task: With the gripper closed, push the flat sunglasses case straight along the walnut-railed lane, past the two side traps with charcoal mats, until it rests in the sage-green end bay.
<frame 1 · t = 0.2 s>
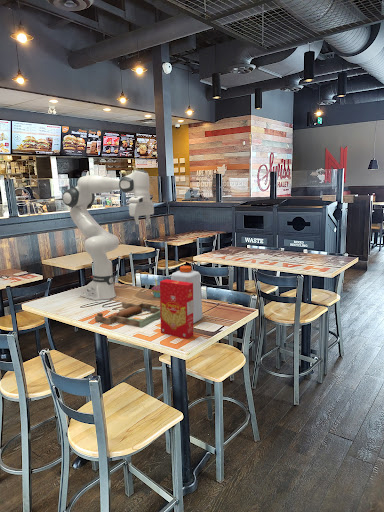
hand: (142, 223, 220), 47 cm above the table, tool pointing down, fingers open, 8 cm apart
plastic bottle: (185, 319, 200), on the table
food packaging: (176, 334, 180), on the table
cupcake: (158, 296, 243), on the table
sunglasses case: (125, 316, 207), on the table
trap lane: (131, 316, 205), on the table
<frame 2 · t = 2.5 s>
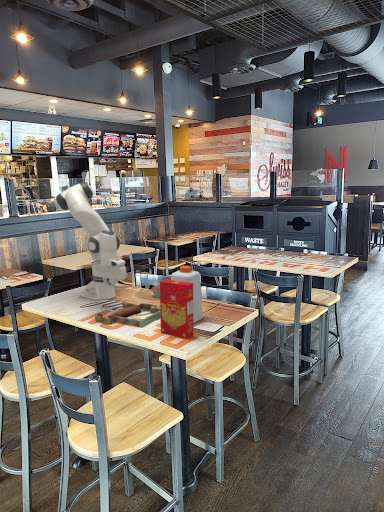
hand: (110, 286, 208), 15 cm above the table, tool pointing down, fingers open, 3 cm apart
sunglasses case: (123, 316, 208), on the table
everything else where it was.
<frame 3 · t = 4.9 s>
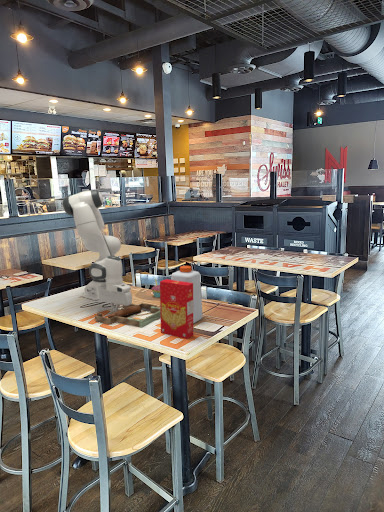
hand: (115, 311, 209), 2 cm above the table, tool pointing down, fingers closed
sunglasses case: (123, 316, 208), on the table, touching gripper
everything else where it was.
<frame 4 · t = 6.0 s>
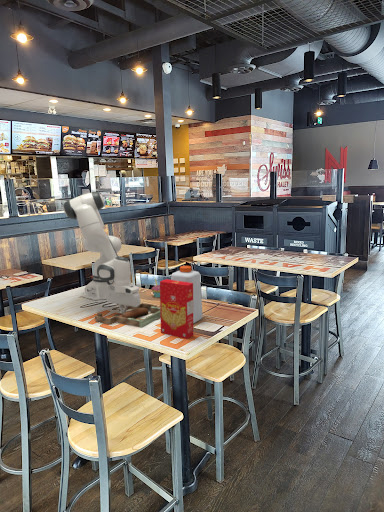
hand: (123, 312, 207), 2 cm above the table, tool pointing down, fingers closed
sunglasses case: (130, 318, 205), on the table, touching gripper, trap lane
everything else where it was.
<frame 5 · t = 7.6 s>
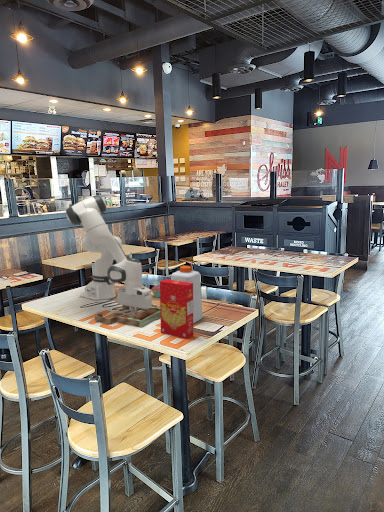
hand: (134, 314, 203), 2 cm above the table, tool pointing down, fingers closed
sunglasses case: (141, 320, 201), on the table, touching gripper, trap lane
everything else where it was.
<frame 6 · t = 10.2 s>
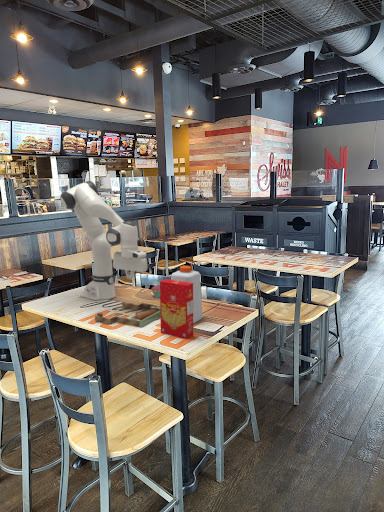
hand: (130, 278, 205), 20 cm above the table, tool pointing down, fingers closed
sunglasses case: (142, 320, 201), on the table
everything else where it was.
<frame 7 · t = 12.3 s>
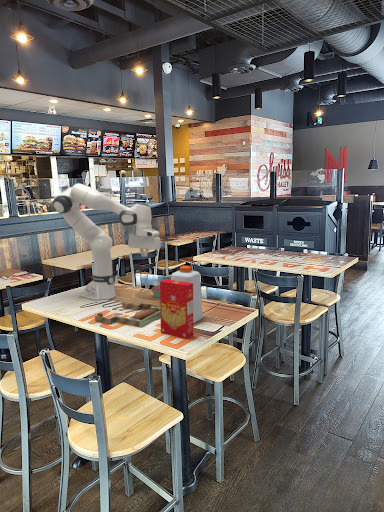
hand: (144, 256, 219), 29 cm above the table, tool pointing down, fingers closed
at the end: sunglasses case inside the target area on the trap lane (2.7 cm from its centre), point -0.7 cm above the trap lane's base; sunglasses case moved 10.4 cm from its start; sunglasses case touching table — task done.
